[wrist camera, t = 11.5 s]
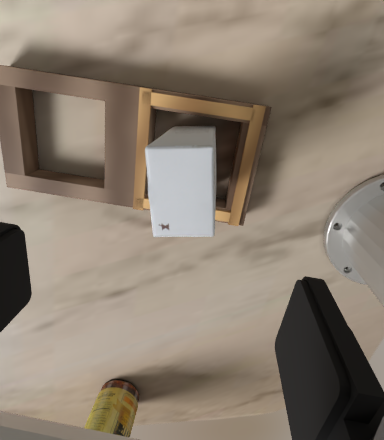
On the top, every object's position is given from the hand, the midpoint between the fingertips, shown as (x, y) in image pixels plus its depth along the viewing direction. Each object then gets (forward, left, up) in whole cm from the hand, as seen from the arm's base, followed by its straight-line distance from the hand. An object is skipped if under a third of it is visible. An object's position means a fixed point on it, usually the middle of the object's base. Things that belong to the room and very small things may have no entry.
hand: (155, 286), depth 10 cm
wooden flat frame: (+6, 0, -21) cm, 22 cm away
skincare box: (0, 0, -21) cm, 21 cm away
